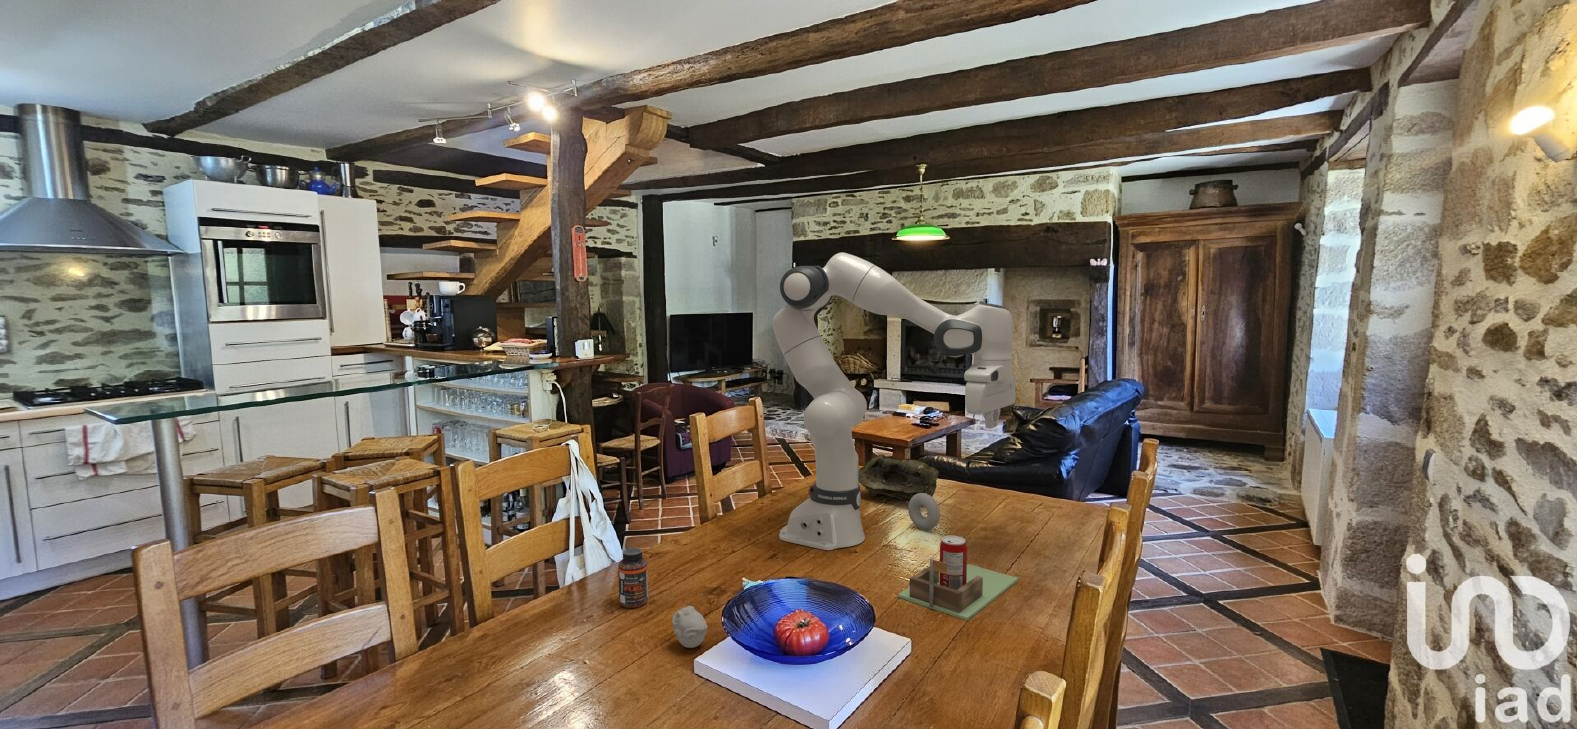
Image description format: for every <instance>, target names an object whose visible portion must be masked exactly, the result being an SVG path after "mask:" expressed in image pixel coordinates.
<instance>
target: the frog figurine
mask: <svg viewBox="0 0 1577 729" xmlns="http://www.w3.org/2000/svg"><path fill="white" fill-rule="evenodd" d="M671 620H672V621H671V625H672V628H673V632H674V635H676V637H677V638H676V639H677V641H678V642H679V644H681V645H682V646H683V647H684V648H689V649H694V648H696V647H698V646H700V645H701V644H702V642H703V641H704V640H705V636H706V634H707V633H708V628H709V627H708V624H707V621H706V620H705V618H704V616H703V615H702V614H701V613H700V612H699V611H698V610H696V609H695V607H694V606H692V605H688V606H686V607H682V608H680V609H679V610H677V611H675V613H674V614H673V616H672V619H671Z"/></svg>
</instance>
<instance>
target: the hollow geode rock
mask: <svg viewBox="0 0 1577 729" xmlns="http://www.w3.org/2000/svg"><path fill="white" fill-rule="evenodd" d="M939 473H940V471H939V470H938V469H937V467H935V466H934V465H933V466H932V465H929V464H928V463H926V461H923V460H919V459H917V458H896V457H893V456H891V457H890V456H886V455H884V454H878V455H874V456H873V457H870V459H869V460H868V461H867V462H866V463H865V465H864V466H862V467H860V468H858V482H859V485H860V486H863V487H864V488H865V489H866V490H867V491H868V492H869V495H870V497H876V496H877V495H884V496H887V497H893V498H897V499H899V500H900V501H902V502H905V503H909V502H910V500H911V498H912V497H913V496H914V495H916V494H918V493H926V494H928V495H930V496H932V497H934V494H935V492H936V489H937V482H938V481H937V480H938V478H939ZM921 507H923V508H925V507H924V506H923V505H922V506H921Z"/></svg>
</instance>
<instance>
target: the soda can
mask: <svg viewBox="0 0 1577 729" xmlns="http://www.w3.org/2000/svg"><path fill="white" fill-rule="evenodd" d="M939 561H940V562H944V563H947V574H944V573H940V585H942V586H945V587H948V588H952V589H955V590H958V589H959V588H961V587H962V586H963V585H965V584H966V583H967V564H968V546H967V543H966V538H964V537H962V536H960V535H959V536H958V535H945V536H943V537H941V540H940V544H939Z"/></svg>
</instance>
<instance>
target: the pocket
mask: <svg viewBox="0 0 1577 729" xmlns="http://www.w3.org/2000/svg"><path fill="white" fill-rule="evenodd" d="M939 572H940V573H944V574H947V563H944V562H940V560H936V559H934V558H933V557H930V558H929V566H927V567H926V568H923V569H922V570H921V571H919V572H918V573H916V574H914V575H913V576H911V577H909V587H910V597H912V598H915V599H918V600H921V601H924V602H927V603H929V606H930V607H933V605H936V606H939V607H942V608H945V609H948V610H951V611H954V612H957V613H960V612H961V611H963V610H964V609H965V608H967V607H968V606H969V605H971V604H972V603H973V602H974V601H976V600H977V599H978V598H980V597H981V596H982V591H983V577H980V576H976V577H975V578H973V579H972V580H970V581H969V582H968V583H966V584H965V585H963V586H962V587H961V588H959V589H958V590H955V589H952V588H948V587H945V586H942V585H939V584H937V583H938V582H939Z"/></svg>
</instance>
